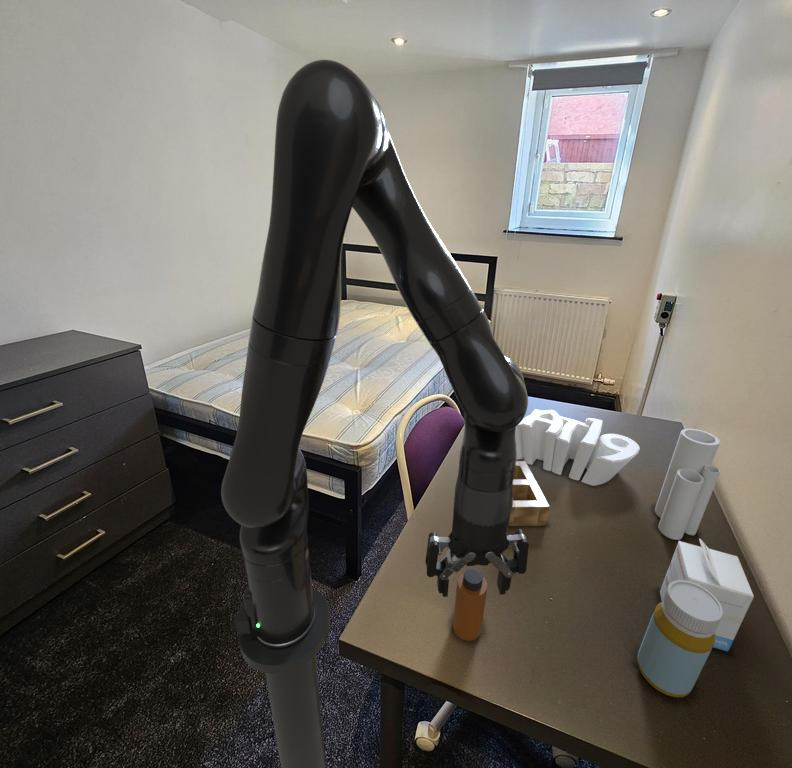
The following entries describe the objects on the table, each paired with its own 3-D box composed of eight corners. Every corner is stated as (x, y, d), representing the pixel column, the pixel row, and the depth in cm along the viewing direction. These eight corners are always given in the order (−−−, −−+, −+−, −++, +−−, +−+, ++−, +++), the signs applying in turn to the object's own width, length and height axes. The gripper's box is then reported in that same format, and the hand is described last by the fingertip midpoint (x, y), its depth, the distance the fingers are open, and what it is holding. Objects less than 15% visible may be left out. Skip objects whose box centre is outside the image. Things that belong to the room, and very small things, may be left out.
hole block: (502, 526, 85) (505, 507, 83) (485, 478, 100) (487, 460, 98) (546, 525, 86) (550, 506, 84) (522, 477, 101) (525, 460, 99)
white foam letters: (485, 448, 112) (489, 414, 108) (509, 425, 125) (514, 393, 121) (622, 500, 94) (633, 461, 90) (635, 467, 107) (645, 432, 103)
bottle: (626, 649, 62) (653, 577, 56) (671, 648, 62) (702, 576, 56) (652, 700, 55) (685, 625, 50) (702, 699, 56) (741, 624, 50)
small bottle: (455, 641, 62) (460, 589, 58) (450, 614, 66) (456, 564, 62) (483, 640, 62) (491, 588, 58) (477, 614, 66) (484, 563, 62)
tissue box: (729, 654, 62) (762, 590, 57) (666, 633, 65) (692, 570, 59) (714, 607, 69) (742, 546, 64) (658, 590, 72) (680, 530, 67)
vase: (652, 502, 94) (677, 425, 86) (688, 510, 92) (717, 432, 84) (660, 536, 84) (689, 453, 76) (700, 546, 82) (735, 462, 74)
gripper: (525, 485, 59) (512, 568, 65) (426, 487, 58) (422, 571, 64) (544, 522, 52) (527, 611, 58) (432, 525, 51) (427, 615, 57)
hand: (472, 590), depth 61 cm, fingers open, 8 cm apart
